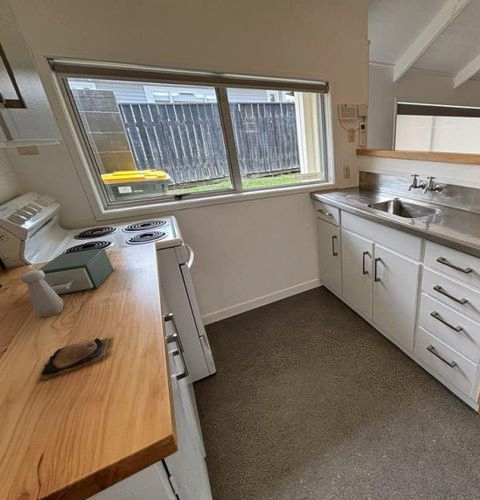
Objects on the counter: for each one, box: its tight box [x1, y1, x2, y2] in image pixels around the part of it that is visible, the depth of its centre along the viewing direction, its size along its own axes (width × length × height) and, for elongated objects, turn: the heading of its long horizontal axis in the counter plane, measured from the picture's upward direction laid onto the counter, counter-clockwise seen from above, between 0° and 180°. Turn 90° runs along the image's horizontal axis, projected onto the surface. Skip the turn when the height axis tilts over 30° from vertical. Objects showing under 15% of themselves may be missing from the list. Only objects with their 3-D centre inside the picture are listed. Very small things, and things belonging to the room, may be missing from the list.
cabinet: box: [38, 247, 114, 296], centre depth 95 cm, size 15×13×9 cm
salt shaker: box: [20, 269, 64, 318], centre depth 78 cm, size 6×6×13 cm
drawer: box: [43, 267, 93, 294], centre depth 91 cm, size 19×12×7 cm, turn 21°
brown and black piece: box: [40, 337, 109, 381], centre depth 62 cm, size 11×8×4 cm
